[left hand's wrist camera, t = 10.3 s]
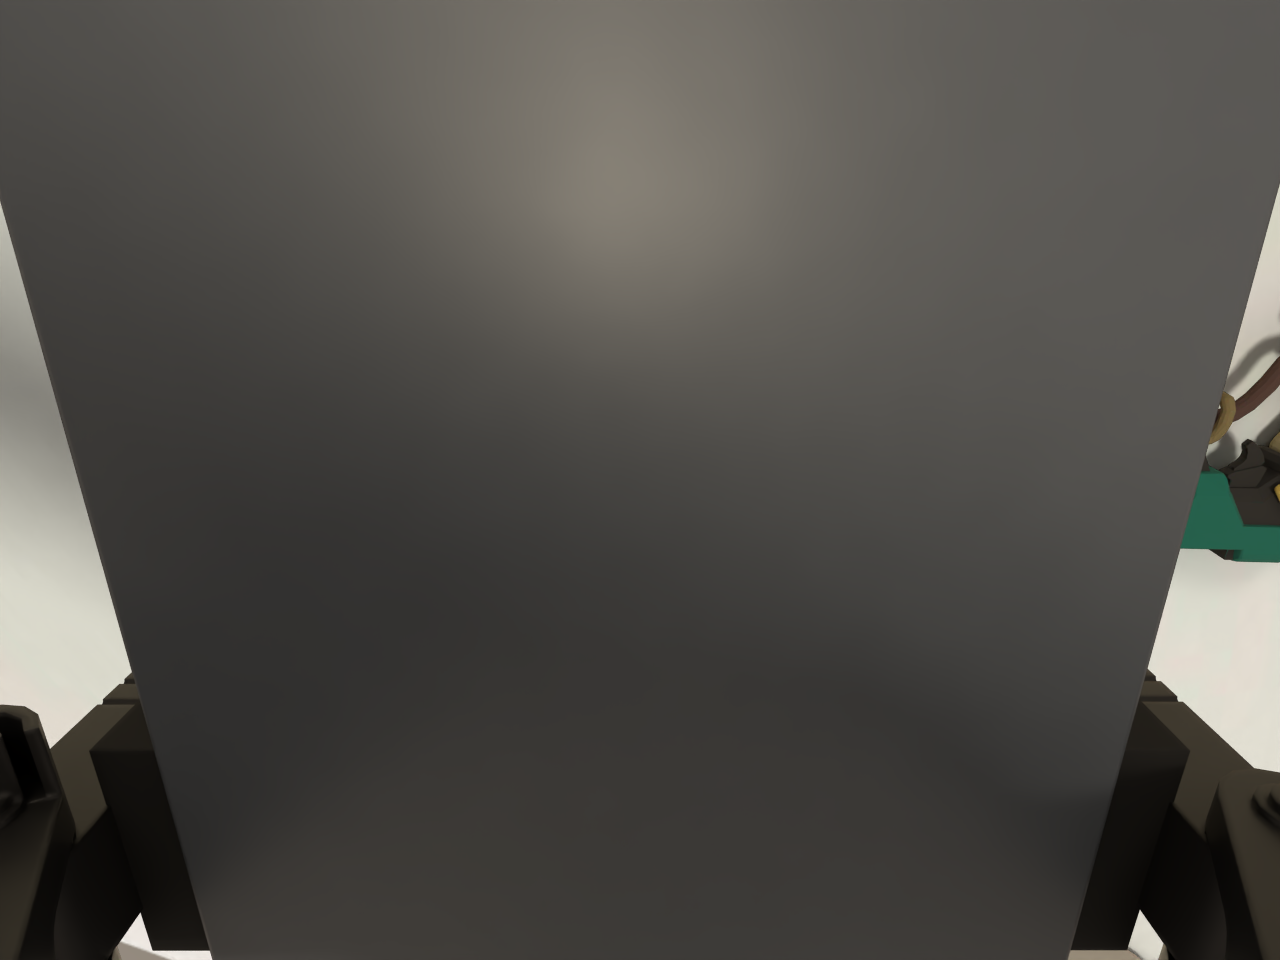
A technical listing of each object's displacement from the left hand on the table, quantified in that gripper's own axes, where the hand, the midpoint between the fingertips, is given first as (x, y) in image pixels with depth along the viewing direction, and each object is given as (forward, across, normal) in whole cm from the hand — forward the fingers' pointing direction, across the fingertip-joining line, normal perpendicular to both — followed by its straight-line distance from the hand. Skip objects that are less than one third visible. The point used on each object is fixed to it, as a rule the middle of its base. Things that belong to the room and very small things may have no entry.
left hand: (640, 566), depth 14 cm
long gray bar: (+1, 0, -28) cm, 28 cm away
